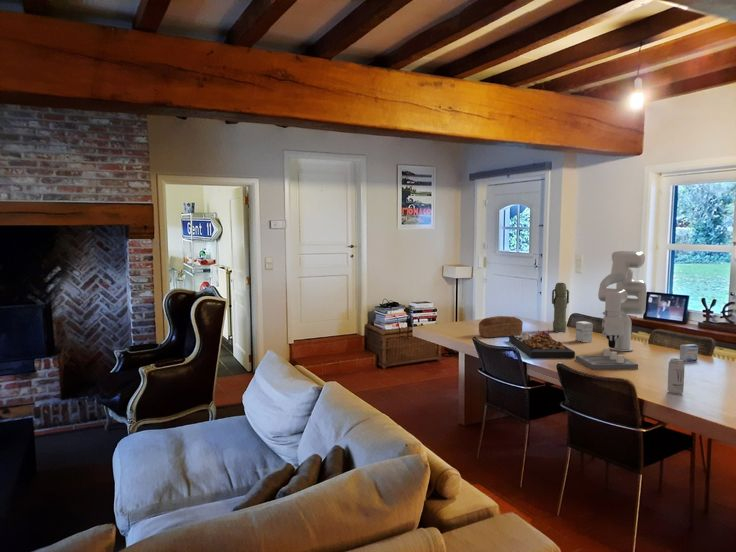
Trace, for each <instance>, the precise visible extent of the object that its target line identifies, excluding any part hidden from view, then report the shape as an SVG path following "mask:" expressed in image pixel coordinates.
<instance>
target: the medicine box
mask: <svg viewBox="0 0 736 552" xmlns="http://www.w3.org/2000/svg"><path fill="white" fill-rule="evenodd" d="M698 354H699V344H698V345H697V344H695V343H694V344H693V343H687V344H680V345H679V359H682V360H683V362H686V361H688V362H693V361H692V360H697V361H698V356H699V355H698Z"/></svg>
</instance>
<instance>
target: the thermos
mask: <svg viewBox="0 0 736 552" xmlns="http://www.w3.org/2000/svg"><path fill="white" fill-rule="evenodd" d="M569 303H570V291H569V289H567V284H566V283H565V282H557V283H555V287H554V289H552V291H551V304H552V305H553V310H554V311H553V321H552V332H553V331H558V332H564V333H566V332H567V321H566V320H567V318H566V317H567V316H566V315H567V314H566V313H567V306H568V305H569ZM565 331H566V332H565ZM558 332H557V333H558Z"/></svg>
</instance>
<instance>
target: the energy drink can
mask: <svg viewBox="0 0 736 552" xmlns="http://www.w3.org/2000/svg"><path fill="white" fill-rule="evenodd" d="M684 362H685V361H683V360H682V359H680V358H674V357H673V358H670V360H669V361H668V368H667V369H668V370H667V371H668V372H667V374H668V375H667V391H668V393H669V394H672V395H677V396H680V395H682V394H683V393H684V385H685V383H684V382H685V381H684V380H685V369H686V368H685V365H686V364H685V363H684Z"/></svg>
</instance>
